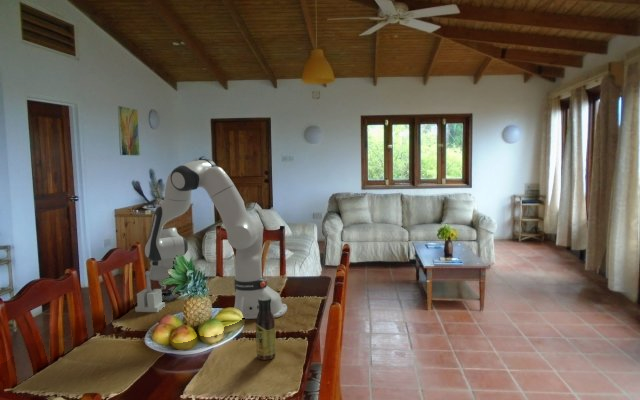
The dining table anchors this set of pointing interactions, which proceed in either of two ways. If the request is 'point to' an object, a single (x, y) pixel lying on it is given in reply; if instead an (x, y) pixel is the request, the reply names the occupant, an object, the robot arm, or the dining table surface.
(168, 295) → the dark grey flat block
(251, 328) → the dining table surface
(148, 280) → the grey post holder
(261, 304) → the sauce bottle
